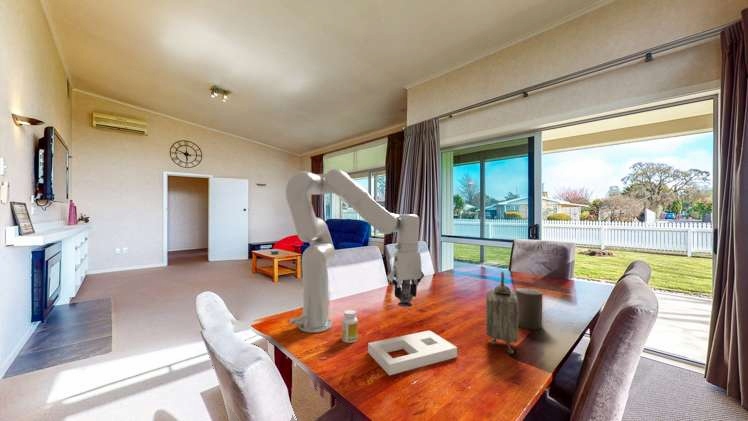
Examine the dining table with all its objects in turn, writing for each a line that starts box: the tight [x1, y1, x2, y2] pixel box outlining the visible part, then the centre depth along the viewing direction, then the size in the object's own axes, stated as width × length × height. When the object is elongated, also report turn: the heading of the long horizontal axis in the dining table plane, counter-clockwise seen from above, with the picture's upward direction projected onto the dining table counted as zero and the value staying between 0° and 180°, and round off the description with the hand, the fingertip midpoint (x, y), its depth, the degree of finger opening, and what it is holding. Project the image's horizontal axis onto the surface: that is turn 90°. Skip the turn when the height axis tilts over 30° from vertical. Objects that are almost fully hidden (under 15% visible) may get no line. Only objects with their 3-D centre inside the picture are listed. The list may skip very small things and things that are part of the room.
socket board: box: [367, 330, 458, 376], centre depth 92 cm, size 24×14×3 cm, turn 116°
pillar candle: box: [515, 287, 543, 331], centre depth 117 cm, size 10×10×15 cm
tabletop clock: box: [485, 271, 519, 355], centre depth 99 cm, size 14×9×25 cm, turn 160°
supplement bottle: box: [341, 309, 359, 344], centre depth 102 cm, size 5×5×10 cm
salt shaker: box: [397, 280, 414, 308], centre depth 107 cm, size 6×6×12 cm
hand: (405, 296), depth 107 cm, fingers closed on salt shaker, 5 cm apart
